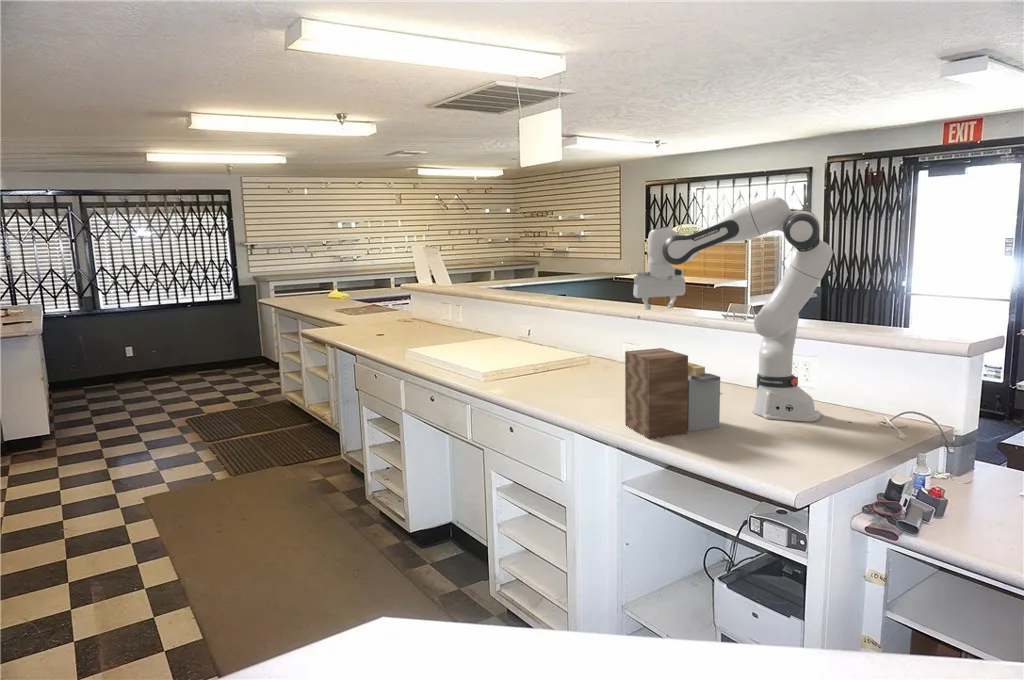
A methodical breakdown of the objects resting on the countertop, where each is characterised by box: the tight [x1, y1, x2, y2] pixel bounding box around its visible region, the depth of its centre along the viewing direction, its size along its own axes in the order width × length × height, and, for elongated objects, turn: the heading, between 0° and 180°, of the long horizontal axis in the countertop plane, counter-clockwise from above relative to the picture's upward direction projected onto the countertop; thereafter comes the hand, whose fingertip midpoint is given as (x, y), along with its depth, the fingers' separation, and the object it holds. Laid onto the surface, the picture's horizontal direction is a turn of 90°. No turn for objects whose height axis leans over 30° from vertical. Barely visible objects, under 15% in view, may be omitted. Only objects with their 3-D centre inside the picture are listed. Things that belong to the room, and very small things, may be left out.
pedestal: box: [624, 347, 689, 439], centre depth 219 cm, size 16×14×26 cm
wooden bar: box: [688, 361, 721, 382], centre depth 227 cm, size 28×7×4 cm, turn 18°
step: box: [687, 372, 721, 432], centre depth 226 cm, size 14×12×17 cm
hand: (659, 308), depth 246 cm, fingers open, 8 cm apart
